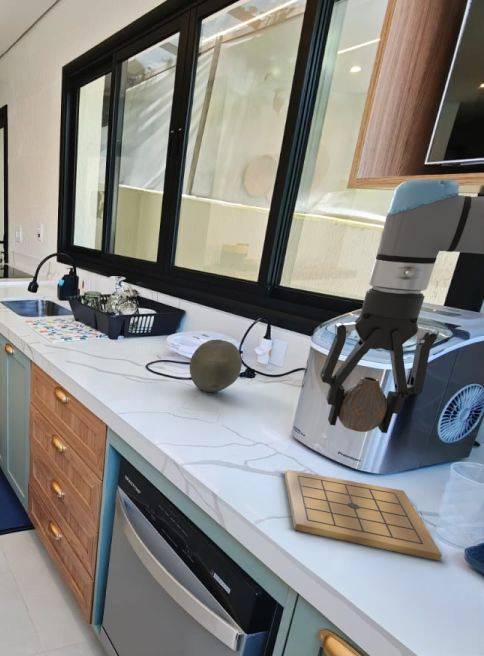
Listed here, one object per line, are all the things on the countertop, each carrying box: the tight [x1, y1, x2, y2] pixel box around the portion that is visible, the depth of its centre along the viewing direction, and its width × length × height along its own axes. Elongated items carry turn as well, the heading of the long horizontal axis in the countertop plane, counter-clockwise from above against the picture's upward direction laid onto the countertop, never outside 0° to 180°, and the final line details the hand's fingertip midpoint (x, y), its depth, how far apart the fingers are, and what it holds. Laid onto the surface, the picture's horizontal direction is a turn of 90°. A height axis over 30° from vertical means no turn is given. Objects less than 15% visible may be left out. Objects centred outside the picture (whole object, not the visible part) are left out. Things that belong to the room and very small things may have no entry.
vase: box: [337, 376, 387, 433], centre depth 85 cm, size 7×7×9 cm
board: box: [284, 469, 443, 562], centre depth 88 cm, size 20×20×1 cm
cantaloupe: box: [189, 339, 243, 393], centre depth 141 cm, size 14×14×15 cm
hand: (356, 425), depth 86 cm, fingers closed on vase, 7 cm apart
